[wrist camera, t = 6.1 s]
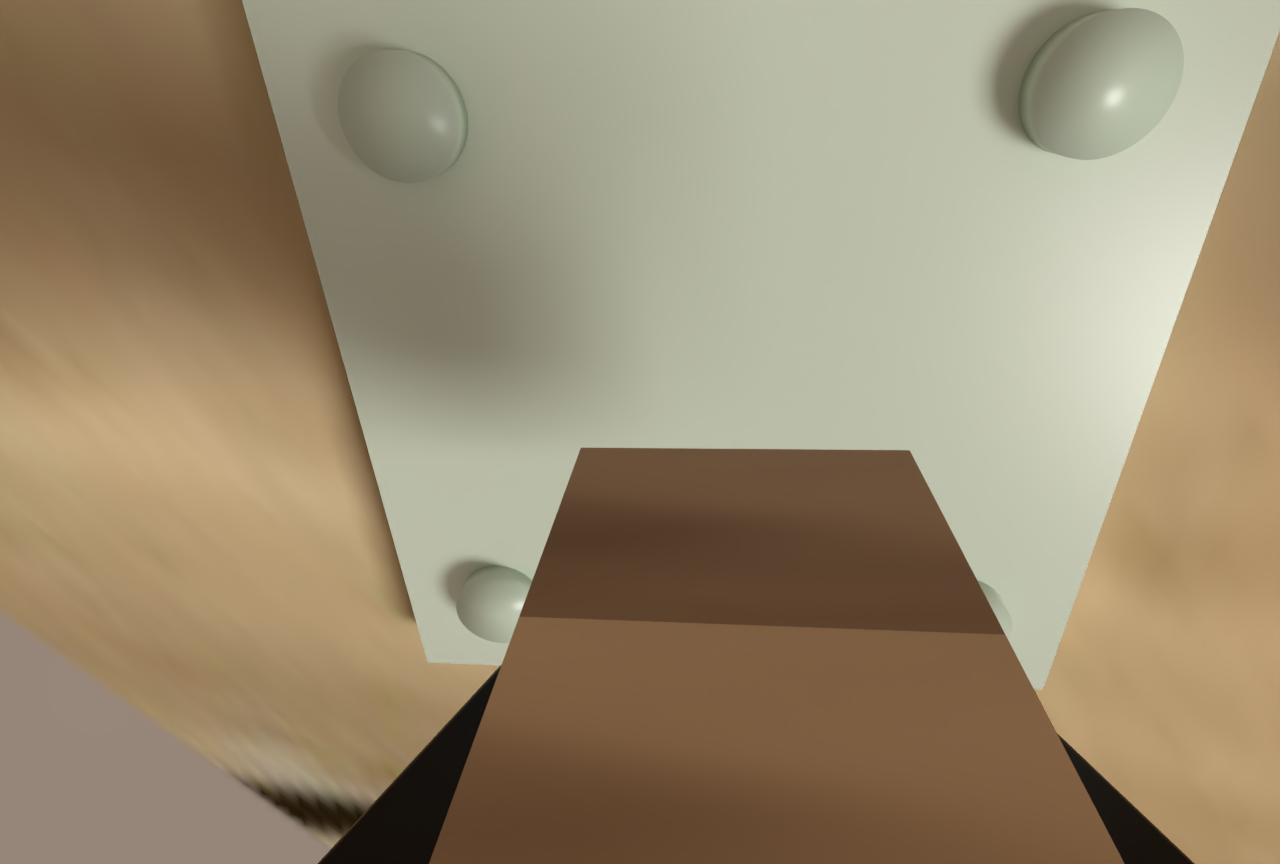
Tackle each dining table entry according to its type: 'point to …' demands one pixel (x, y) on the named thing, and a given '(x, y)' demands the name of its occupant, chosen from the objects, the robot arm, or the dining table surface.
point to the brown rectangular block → (762, 681)
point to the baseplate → (754, 253)
